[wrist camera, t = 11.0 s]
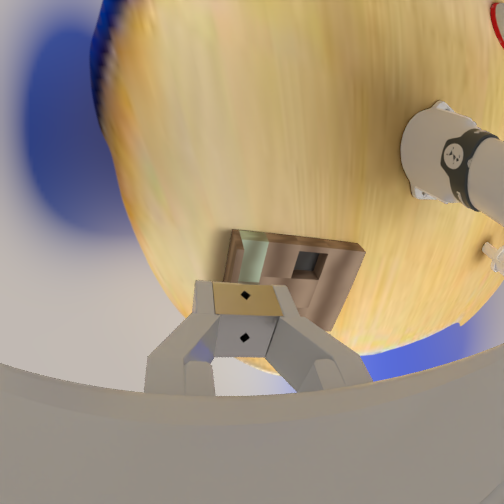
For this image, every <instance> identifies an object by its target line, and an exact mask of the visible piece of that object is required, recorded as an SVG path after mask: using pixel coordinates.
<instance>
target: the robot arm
mask: <svg viewBox="0 0 504 504" xmlns="http://www.w3.org/2000/svg"><path fill="white" fill-rule="evenodd" d="M401 162H402V166H403V169H404V171H405V174H406V175H407V177H408V179H409V181H410V183H411V191H412V195H413V197H415V198H417V199H435V200H439V201H441V202H443V203H445V204H448V203H458V202H461V203H462V204H463V205H464V206H466V207H468V208H470V209H472V210H474V211H477V212H482V213H484V214H485V215H487V216H488V217H490V218H491V219H493V220H494V221H496V222H497V223H499V224H500V225H502V226H503V227H504V141H502V140H500V139H499V138H498V137H497V136H495V135H493V134H491V133H490V132H487V131H485V130H482V129H480V128H479V127H477V126H476V123H475V122H474V121H472V119H471V118H469V117H467V116H464V115H460V114H457V113H455V112H454V111H453V110H452V109H451V108H450V107H449V106H448V105H447V104H446V103H445V102H443V101H437V102H436V103H435V104H434V105H433V106H432V107H431V108H429V109H426V110H423V111H421V112H419V113H417V114H416V115H415V116H414V117H413V118H412V119H411V120H410V121H409V123H408V124H407V126H406V128H405V131H404V133H403V137H402V141H401ZM422 192H423V193H422ZM214 357H266V358H265V359H266V360H267V361H268V362H269V363H270V364H271V365H272V366H273V367H274V369H275V370H276V371H277V372H278V373H279V374H280V375H281V376H282V377H283V378H284V379H285V380H286V381H287V382H288V383H289V384H290V385H291V386H292V387H293V388H294V389H295V390H296V391H297V393H290V394H276V395H257V396H215V387H214V379H213V370H212V365H210V364H211V362H212V360H213V359H214ZM0 504H504V343H503V344H501V345H498V346H496V347H493V348H491V349H488V350H486V351H483V352H481V353H477V354H475V355H472V356H469V357H466V358H463V359H460V360H457V361H454V362H451V363H448V364H444V365H441V366H437V367H434V368H430V369H427V370H423V371H419V372H415V373H412V374H408V375H403V376H399V377H394V378H390V379H385V380H381V381H376V382H373V380H372V378H371V376H370V375H369V373H368V371H367V369H366V367H365V365H364V363H363V361H362V359H361V358H360V356H359V355H358V354H357V353H356V352H354V351H353V350H351V349H350V348H348V347H347V346H345V345H344V344H343V343H341V342H340V341H338V340H337V339H335V338H334V337H333V336H331V335H330V334H328V333H327V332H325V331H324V330H323V329H321V328H320V327H318V326H317V325H315V324H314V323H313V322H311V321H310V320H308V319H307V318H306V317H300V315H299V312H298V310H297V308H296V306H295V303H294V301H293V299H292V297H291V294H290V292H289V290H288V288H287V286H285V285H251V284H239V283H228V282H216V281H212V282H211V281H204V280H196V281H195V288H194V298H193V309H192V313H191V314H190V315H189V316H188V317H187V318H186V319H185V320H184V321H183V322H182V323H181V324H180V325H179V326H178V327H177V328H176V329H175V330H174V331H173V332H172V333H171V334H170V335H169V336H168V337H167V338H166V339H165V340H164V341H163V342H162V343H161V344H160V345H159V346H158V347H157V348H156V349H155V350H154V351H153V352H152V353H151V354H150V355H149V356H148V358H147V367H146V377H145V387H144V393H143V392H134V391H125V390H117V389H110V388H103V387H97V386H91V385H86V384H80V383H74V382H70V381H65V380H61V379H56V378H52V377H47V376H43V375H39V374H36V373H32V372H28V371H25V370H21V369H17V368H14V367H11V366H8V365H4V364H2V363H0Z"/></svg>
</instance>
